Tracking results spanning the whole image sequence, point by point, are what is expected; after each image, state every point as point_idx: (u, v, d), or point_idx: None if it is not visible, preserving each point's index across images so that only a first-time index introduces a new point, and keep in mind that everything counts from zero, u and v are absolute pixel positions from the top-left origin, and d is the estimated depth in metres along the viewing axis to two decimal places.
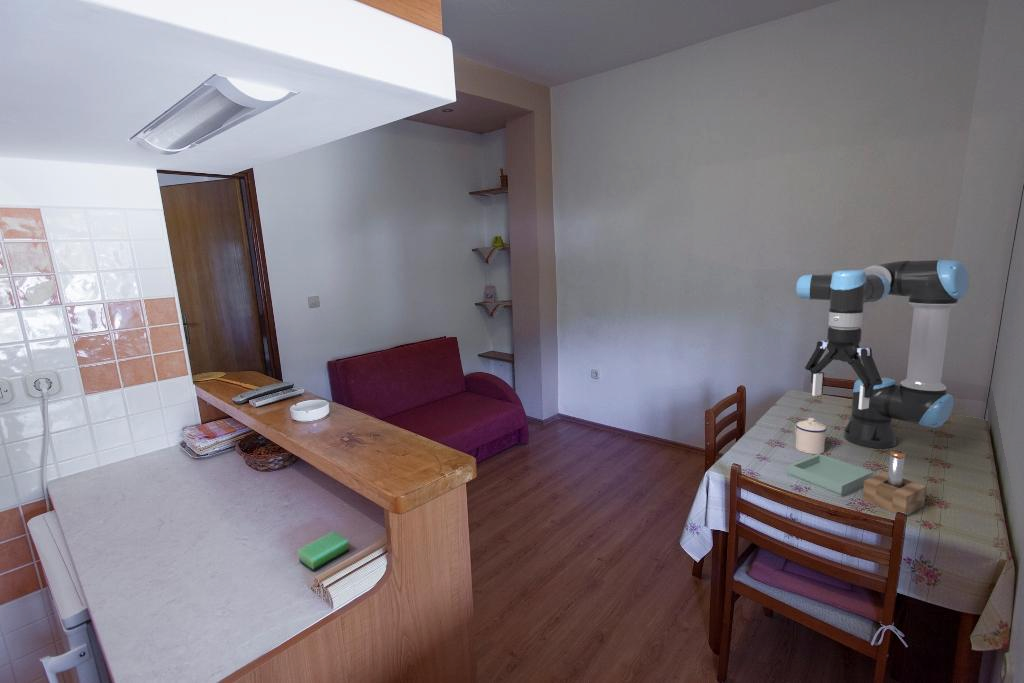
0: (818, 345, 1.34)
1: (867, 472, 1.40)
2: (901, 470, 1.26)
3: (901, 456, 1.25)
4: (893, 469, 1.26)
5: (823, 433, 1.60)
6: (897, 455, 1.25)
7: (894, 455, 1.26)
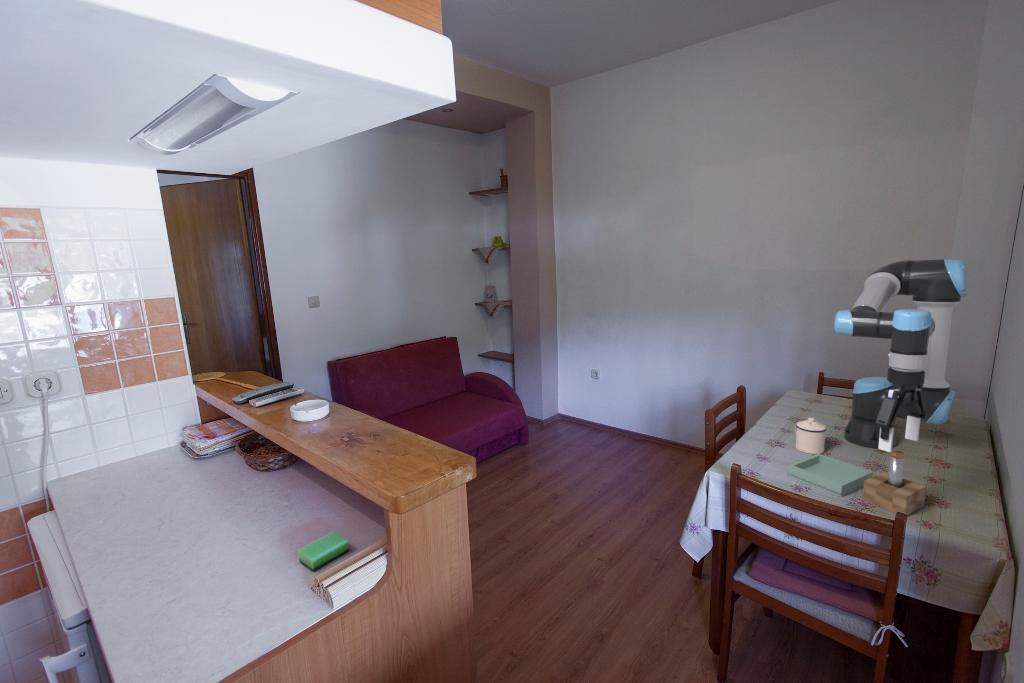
0: None
1: (867, 472, 1.40)
2: (901, 470, 1.26)
3: (901, 456, 1.25)
4: (893, 469, 1.26)
5: (823, 433, 1.60)
6: (897, 455, 1.25)
7: (894, 455, 1.26)
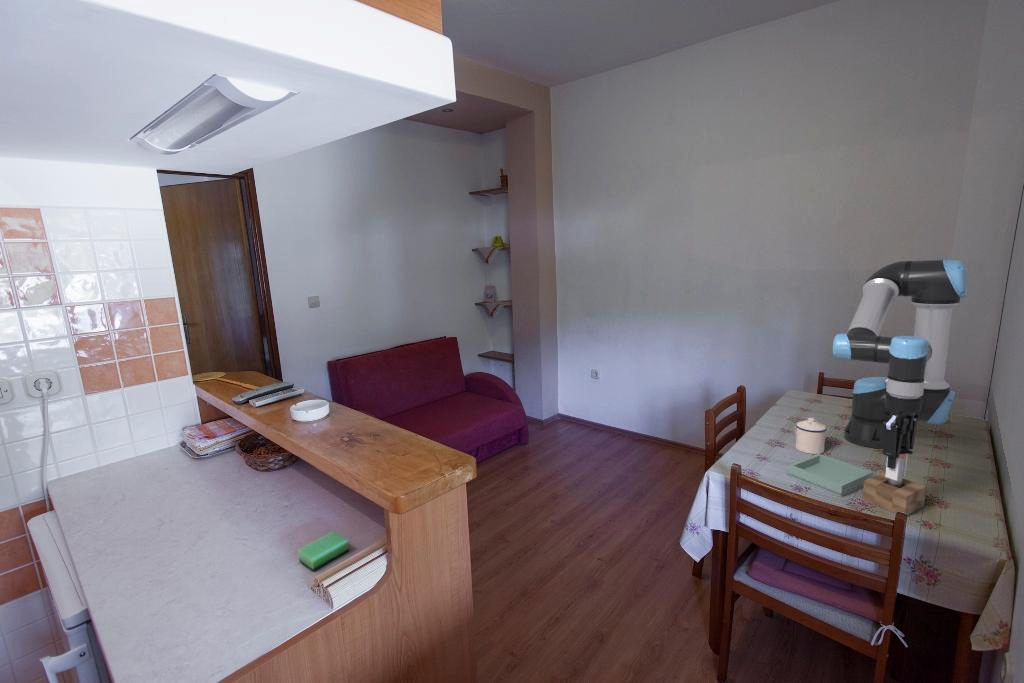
0: None
1: (867, 472, 1.40)
2: (901, 470, 1.26)
3: (901, 456, 1.25)
4: None
5: (823, 433, 1.60)
6: None
7: None
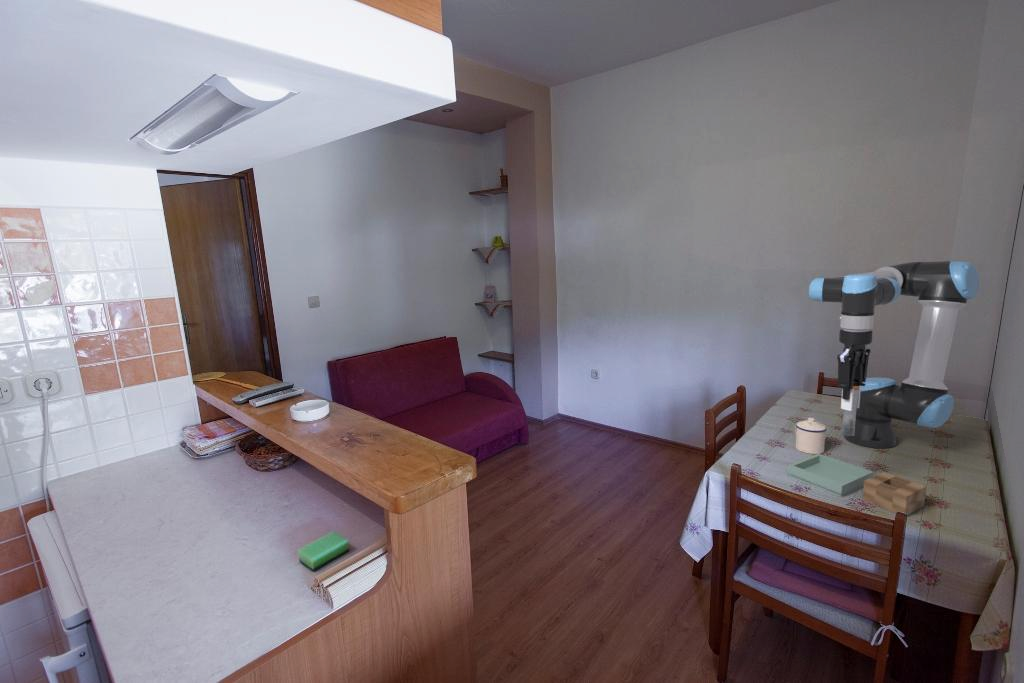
0: None
1: (867, 472, 1.40)
2: (855, 401, 1.34)
3: (855, 388, 1.33)
4: None
5: (823, 433, 1.60)
6: None
7: None
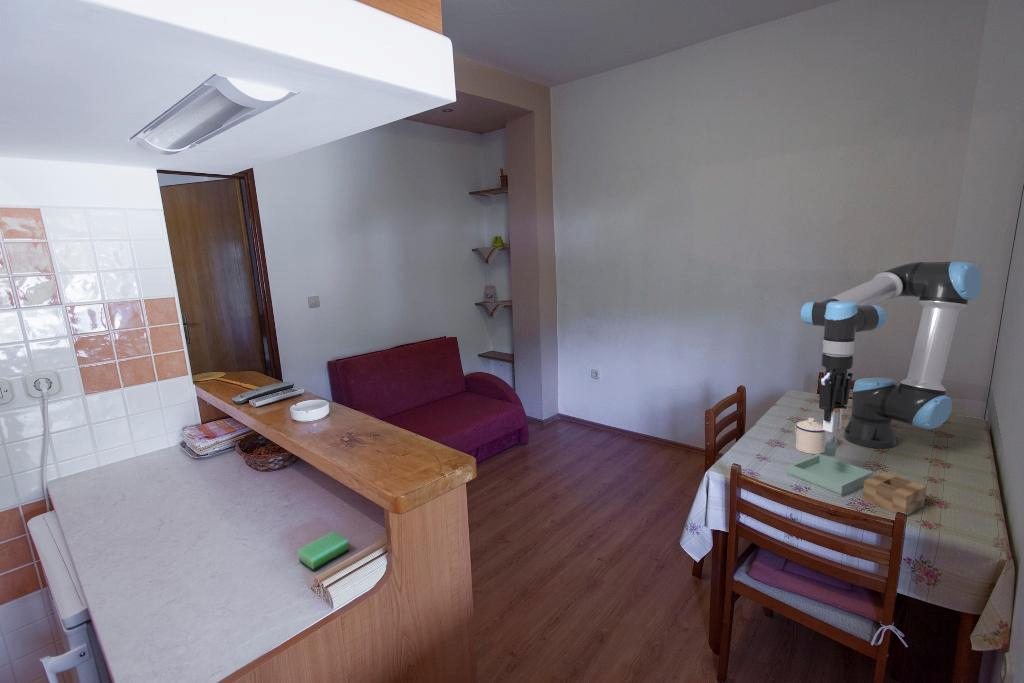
0: None
1: (867, 472, 1.40)
2: (836, 423, 1.39)
3: (836, 410, 1.38)
4: None
5: (823, 433, 1.60)
6: None
7: None
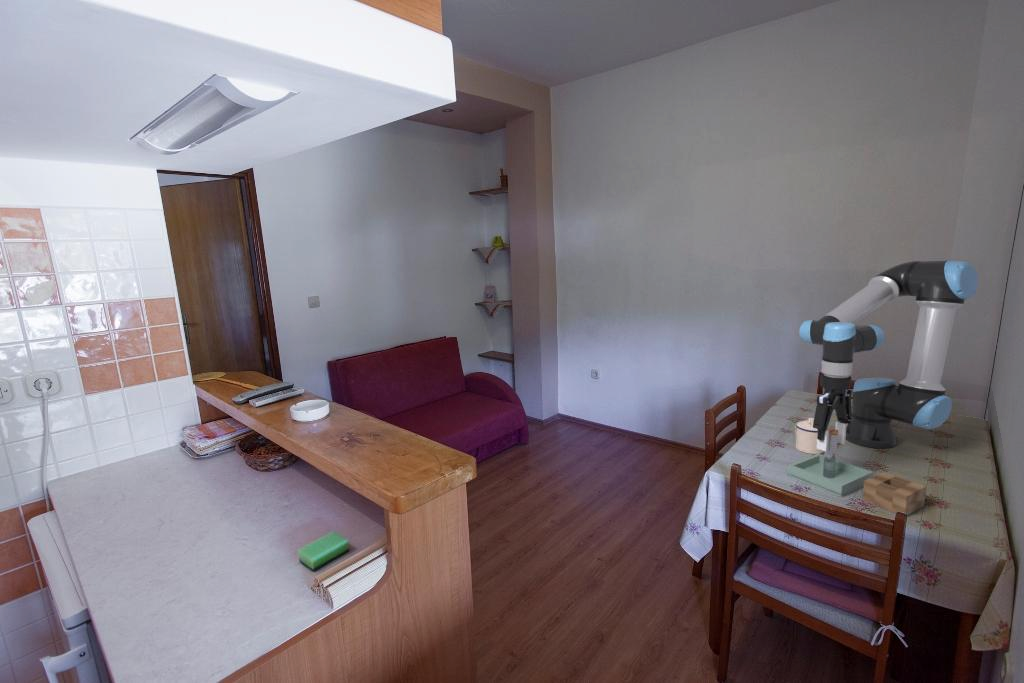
0: None
1: (867, 472, 1.40)
2: (835, 445, 1.41)
3: (835, 432, 1.40)
4: (828, 444, 1.41)
5: None
6: (831, 432, 1.40)
7: (829, 432, 1.41)
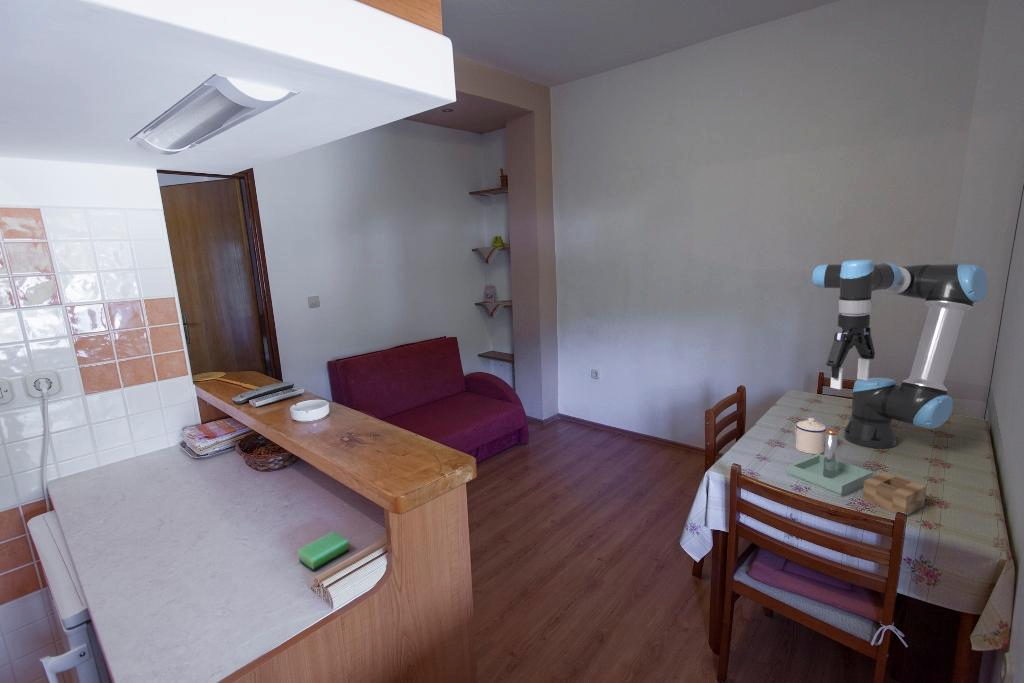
0: None
1: (867, 472, 1.40)
2: (835, 445, 1.41)
3: (834, 433, 1.40)
4: (828, 444, 1.41)
5: (823, 433, 1.60)
6: (831, 432, 1.40)
7: (828, 432, 1.41)
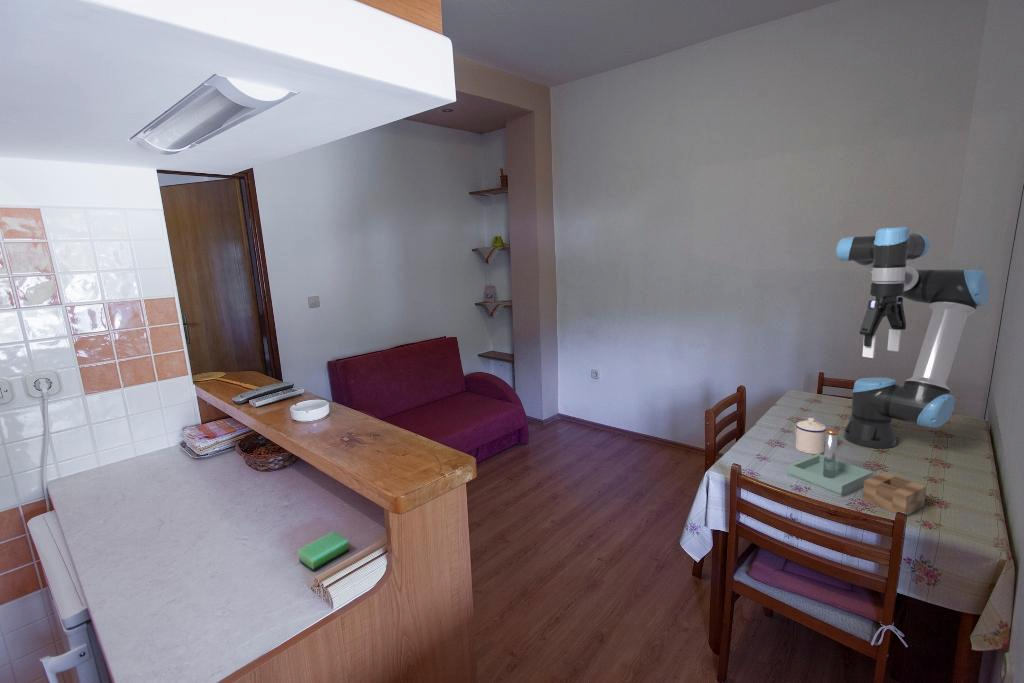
0: None
1: (867, 472, 1.40)
2: (835, 445, 1.40)
3: (834, 433, 1.40)
4: (827, 444, 1.41)
5: (823, 433, 1.60)
6: (831, 432, 1.40)
7: (828, 432, 1.41)
